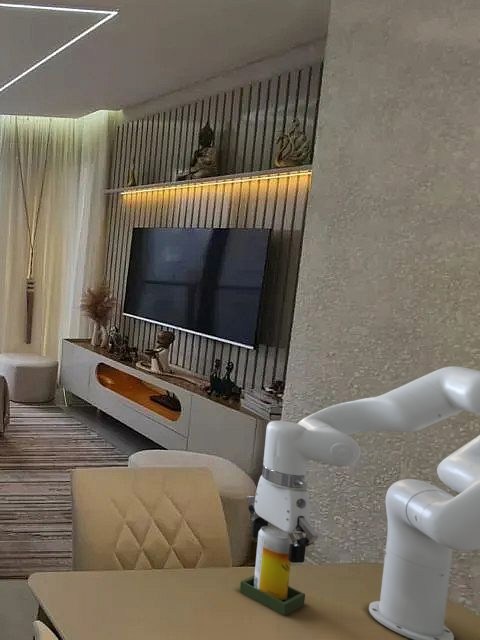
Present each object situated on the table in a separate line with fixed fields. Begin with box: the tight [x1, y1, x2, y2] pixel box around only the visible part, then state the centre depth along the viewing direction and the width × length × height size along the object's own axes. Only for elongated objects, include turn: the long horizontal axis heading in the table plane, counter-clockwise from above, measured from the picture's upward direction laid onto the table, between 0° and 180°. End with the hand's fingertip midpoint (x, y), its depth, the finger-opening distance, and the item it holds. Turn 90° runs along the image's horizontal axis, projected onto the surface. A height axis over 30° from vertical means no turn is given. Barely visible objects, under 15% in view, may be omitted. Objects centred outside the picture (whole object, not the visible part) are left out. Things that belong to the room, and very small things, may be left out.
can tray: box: [239, 575, 306, 616], centre depth 123 cm, size 9×9×3 cm
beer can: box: [253, 525, 293, 601], centre depth 123 cm, size 6×6×15 cm
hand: (276, 549), depth 122 cm, fingers open, 9 cm apart
